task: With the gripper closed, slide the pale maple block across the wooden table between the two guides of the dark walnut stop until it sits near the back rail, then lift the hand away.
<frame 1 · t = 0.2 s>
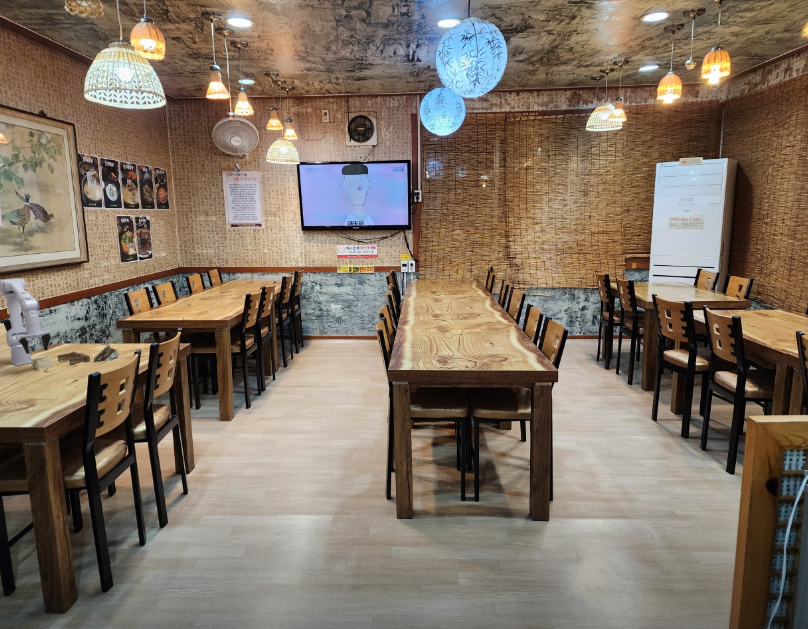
hand: (36, 351, 250), 10 cm above the table, tool pointing down, fingers open, 7 cm apart
maple block: (42, 367, 258), on the table
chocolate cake: (108, 360, 272), on the table
walnut stop: (68, 362, 268), on the table
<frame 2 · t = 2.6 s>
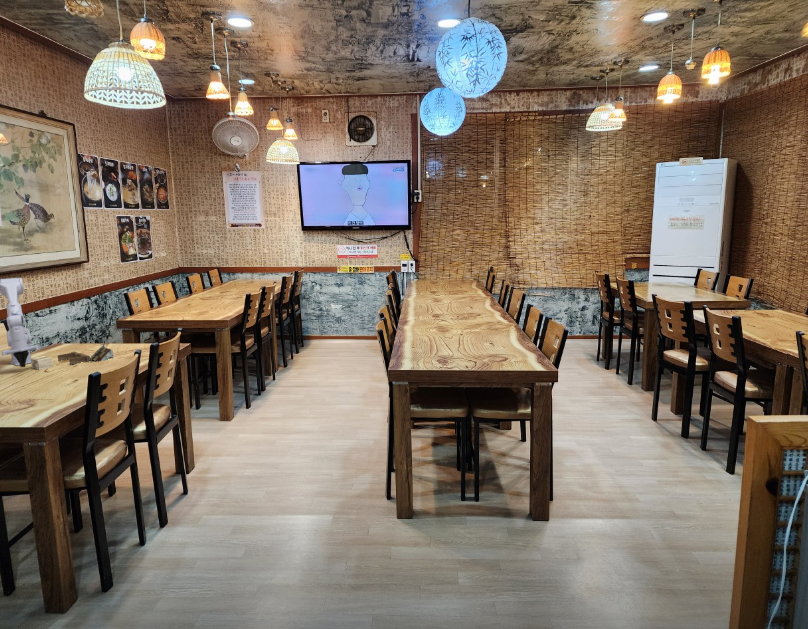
hand: (22, 366, 252), 2 cm above the table, tool pointing down, fingers closed
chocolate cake: (103, 360, 273), on the table
everything else where it was.
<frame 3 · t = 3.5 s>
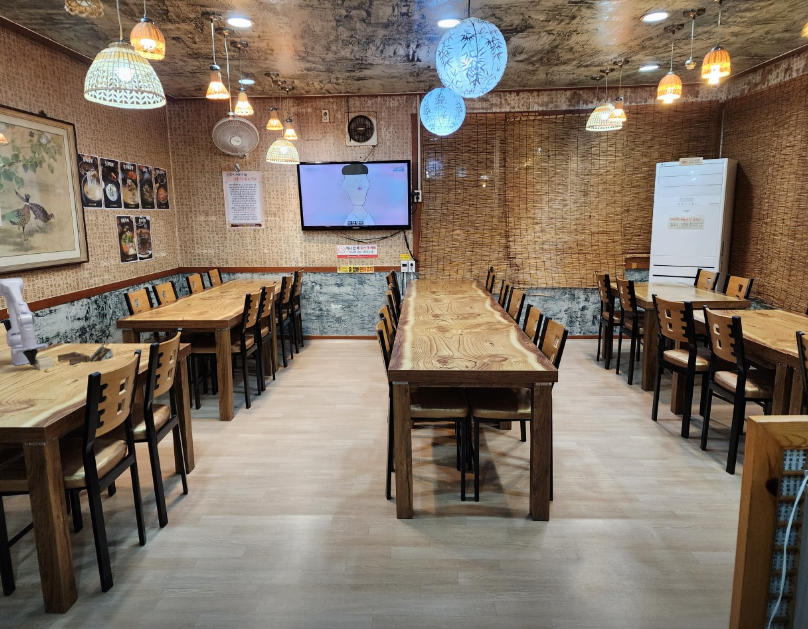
hand: (32, 364, 255), 2 cm above the table, tool pointing down, fingers closed
maple block: (43, 367, 259), on the table, touching gripper
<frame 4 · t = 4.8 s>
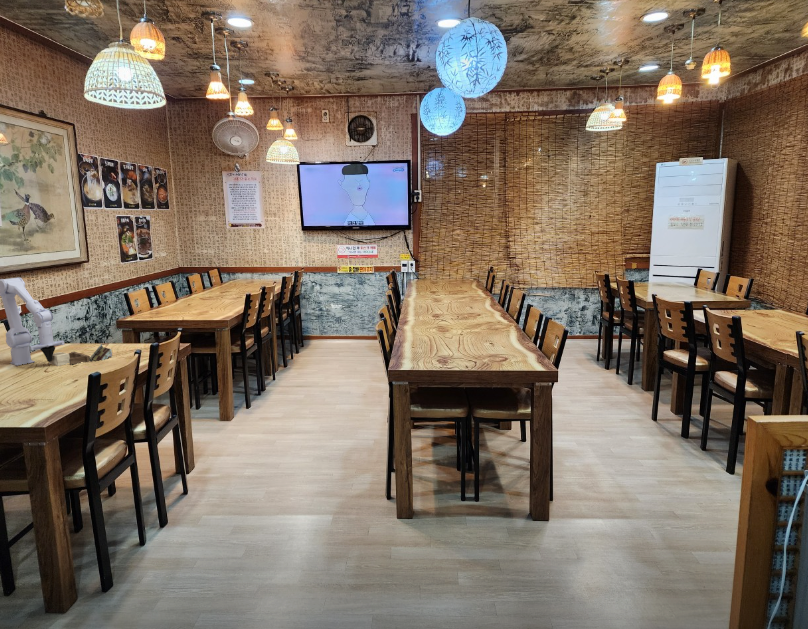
hand: (49, 361, 261), 2 cm above the table, tool pointing down, fingers closed
maple block: (59, 363, 265), on the table, touching gripper
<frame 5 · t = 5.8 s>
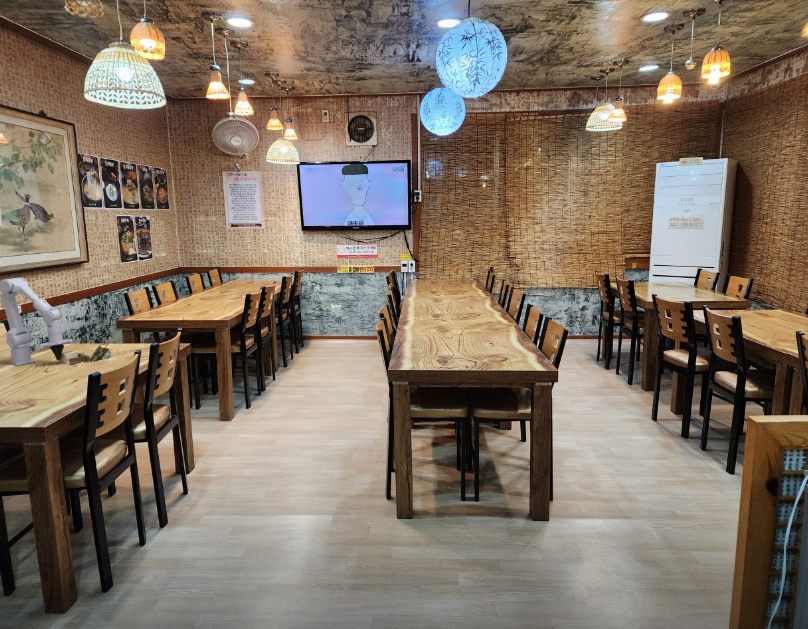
hand: (58, 359, 264), 2 cm above the table, tool pointing down, fingers closed
maple block: (68, 361, 269), on the table, touching gripper
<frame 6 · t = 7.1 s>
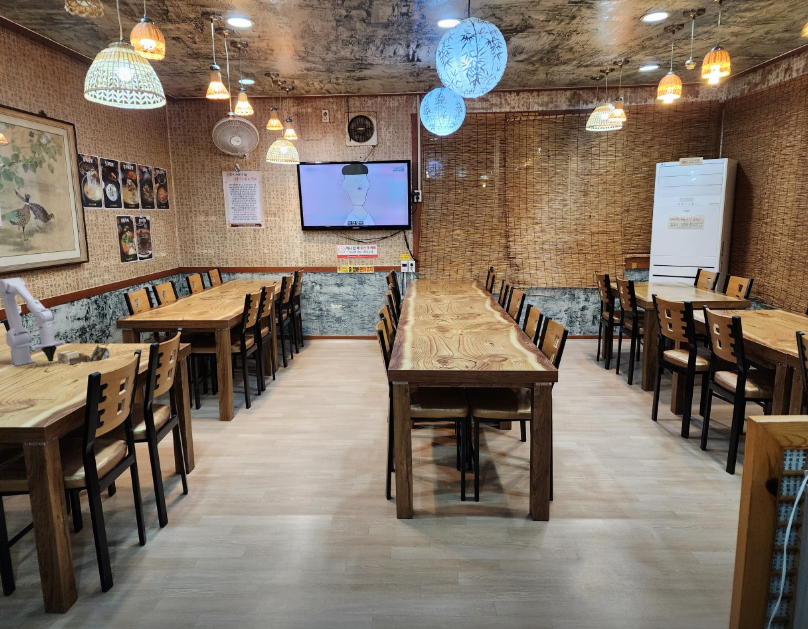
hand: (50, 361, 261), 2 cm above the table, tool pointing down, fingers closed
maple block: (69, 361, 269), on the table
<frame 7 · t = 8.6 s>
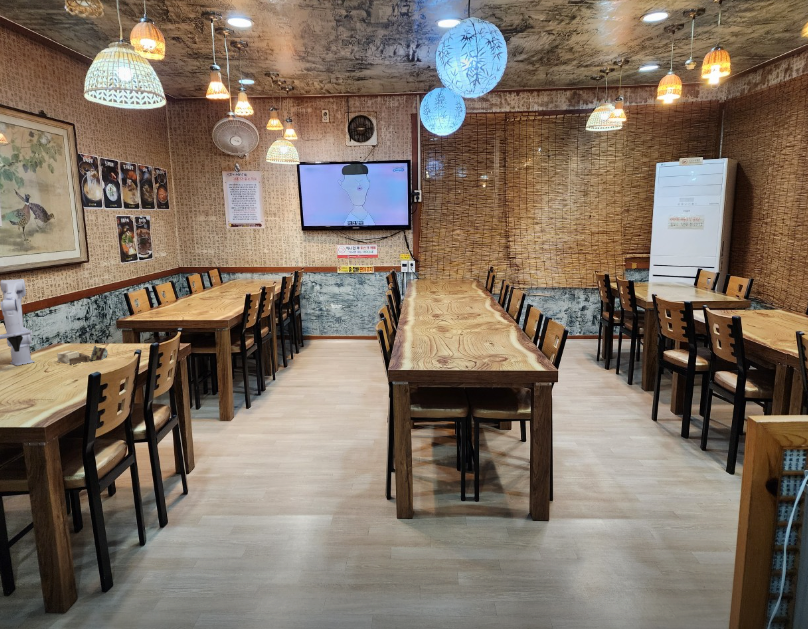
hand: (17, 351, 253), 9 cm above the table, tool pointing down, fingers closed
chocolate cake: (99, 359, 274), on the table
everything else where it was.
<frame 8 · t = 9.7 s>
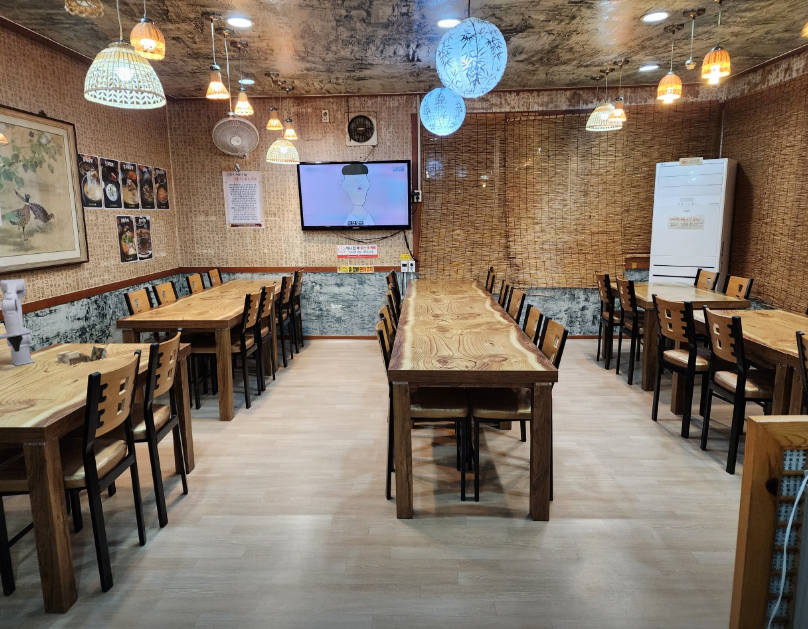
hand: (17, 351, 253), 9 cm above the table, tool pointing down, fingers closed
at the end: maple block inside the target area (1.1 cm from its centre), on the table; maple block tilted 0°; maple block moved 12.5 cm from its start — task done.
